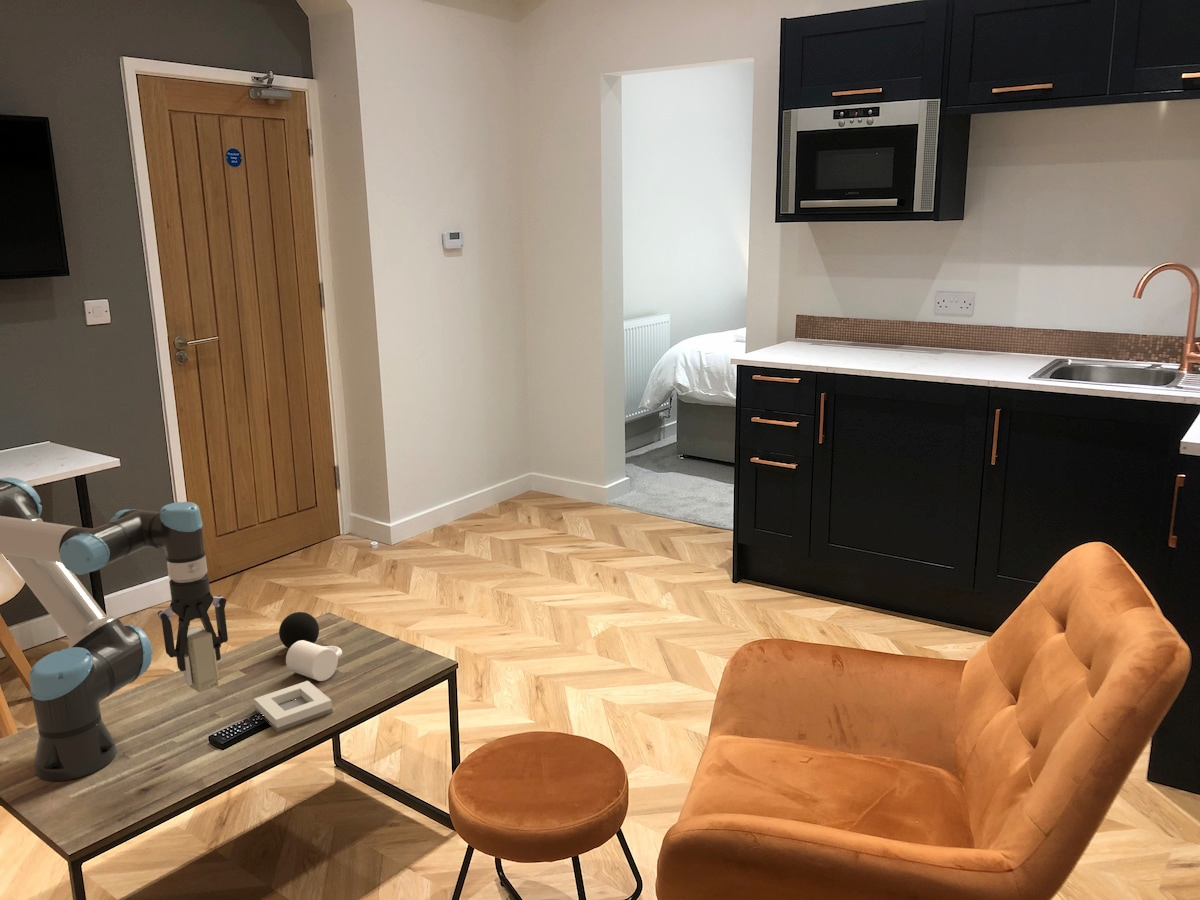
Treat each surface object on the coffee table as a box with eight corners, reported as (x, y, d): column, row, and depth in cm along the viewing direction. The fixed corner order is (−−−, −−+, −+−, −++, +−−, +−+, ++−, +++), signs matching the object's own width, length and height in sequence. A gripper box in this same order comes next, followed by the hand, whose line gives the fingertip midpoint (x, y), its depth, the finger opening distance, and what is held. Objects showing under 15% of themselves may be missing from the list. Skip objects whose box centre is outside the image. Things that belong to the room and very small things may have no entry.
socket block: (277, 732, 215) (276, 719, 214) (255, 710, 224) (254, 698, 224) (332, 712, 223) (331, 700, 222) (309, 692, 232) (307, 680, 232)
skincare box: (219, 686, 207) (213, 633, 204) (198, 694, 204) (192, 640, 201) (205, 677, 211) (199, 625, 209) (185, 684, 208) (179, 632, 205)
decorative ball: (302, 637, 263) (298, 603, 260) (328, 645, 257) (325, 610, 255) (273, 652, 254) (268, 616, 252) (299, 660, 249) (295, 624, 247)
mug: (314, 686, 235) (310, 656, 233) (287, 676, 241) (283, 647, 239) (351, 667, 245) (349, 637, 243) (325, 658, 250) (322, 629, 248)
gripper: (148, 592, 194) (163, 699, 199) (237, 570, 205) (249, 672, 210) (138, 582, 199) (152, 685, 205) (225, 561, 210) (236, 660, 216)
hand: (201, 678), depth 207 cm, fingers closed on skincare box, 5 cm apart
